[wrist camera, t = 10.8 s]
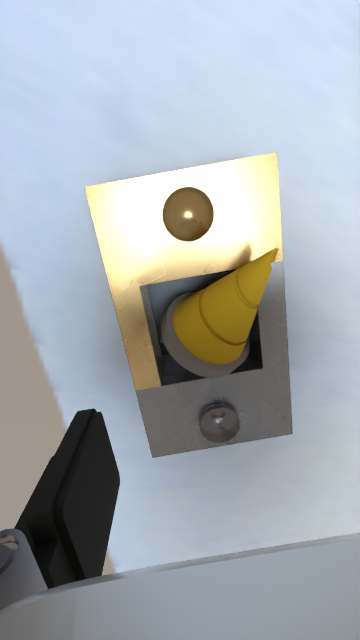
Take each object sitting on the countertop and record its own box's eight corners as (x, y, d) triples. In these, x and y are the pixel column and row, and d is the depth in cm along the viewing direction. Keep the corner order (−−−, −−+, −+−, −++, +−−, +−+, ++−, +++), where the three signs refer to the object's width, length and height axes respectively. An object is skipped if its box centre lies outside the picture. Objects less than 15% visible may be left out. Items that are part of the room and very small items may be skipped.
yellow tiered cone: (145, 319, 21) (214, 193, 13) (213, 333, 23) (305, 228, 15) (145, 392, 18) (234, 279, 10) (224, 401, 19) (347, 310, 12)
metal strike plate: (271, 397, 23) (296, 440, 18) (154, 417, 23) (152, 465, 18) (252, 166, 18) (281, 149, 13) (101, 193, 18) (81, 185, 13)
